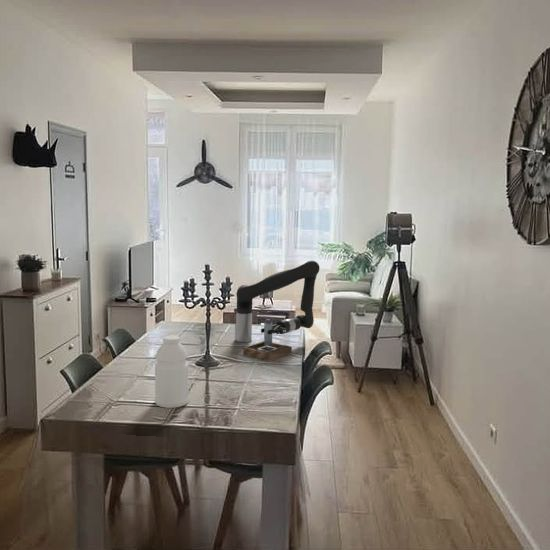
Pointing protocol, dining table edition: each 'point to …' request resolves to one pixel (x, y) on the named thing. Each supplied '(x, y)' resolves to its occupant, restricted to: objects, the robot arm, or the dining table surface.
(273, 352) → the wooden box
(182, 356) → the bottle
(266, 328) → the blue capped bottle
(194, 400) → the dining table surface
